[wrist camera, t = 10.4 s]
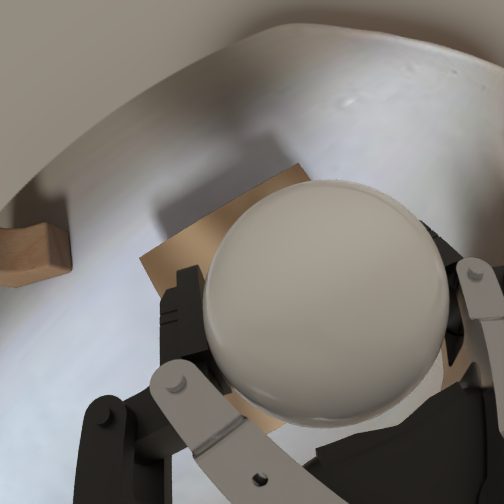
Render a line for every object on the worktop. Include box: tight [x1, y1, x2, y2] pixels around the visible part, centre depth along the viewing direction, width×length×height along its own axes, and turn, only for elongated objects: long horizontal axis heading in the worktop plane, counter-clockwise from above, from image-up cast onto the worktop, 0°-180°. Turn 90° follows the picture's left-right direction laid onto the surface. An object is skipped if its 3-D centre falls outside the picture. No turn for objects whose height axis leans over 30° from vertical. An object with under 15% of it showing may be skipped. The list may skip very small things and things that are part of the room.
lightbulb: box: [203, 180, 450, 428], centre depth 10 cm, size 6×6×11 cm
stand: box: [139, 163, 311, 434], centre depth 24 cm, size 14×16×6 cm
